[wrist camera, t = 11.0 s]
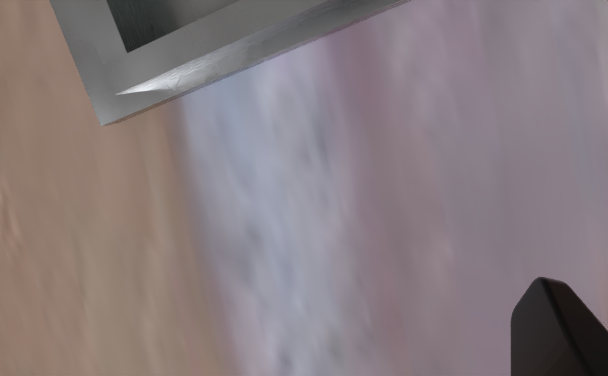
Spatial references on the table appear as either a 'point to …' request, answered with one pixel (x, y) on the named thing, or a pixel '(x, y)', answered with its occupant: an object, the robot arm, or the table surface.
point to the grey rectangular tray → (187, 43)
